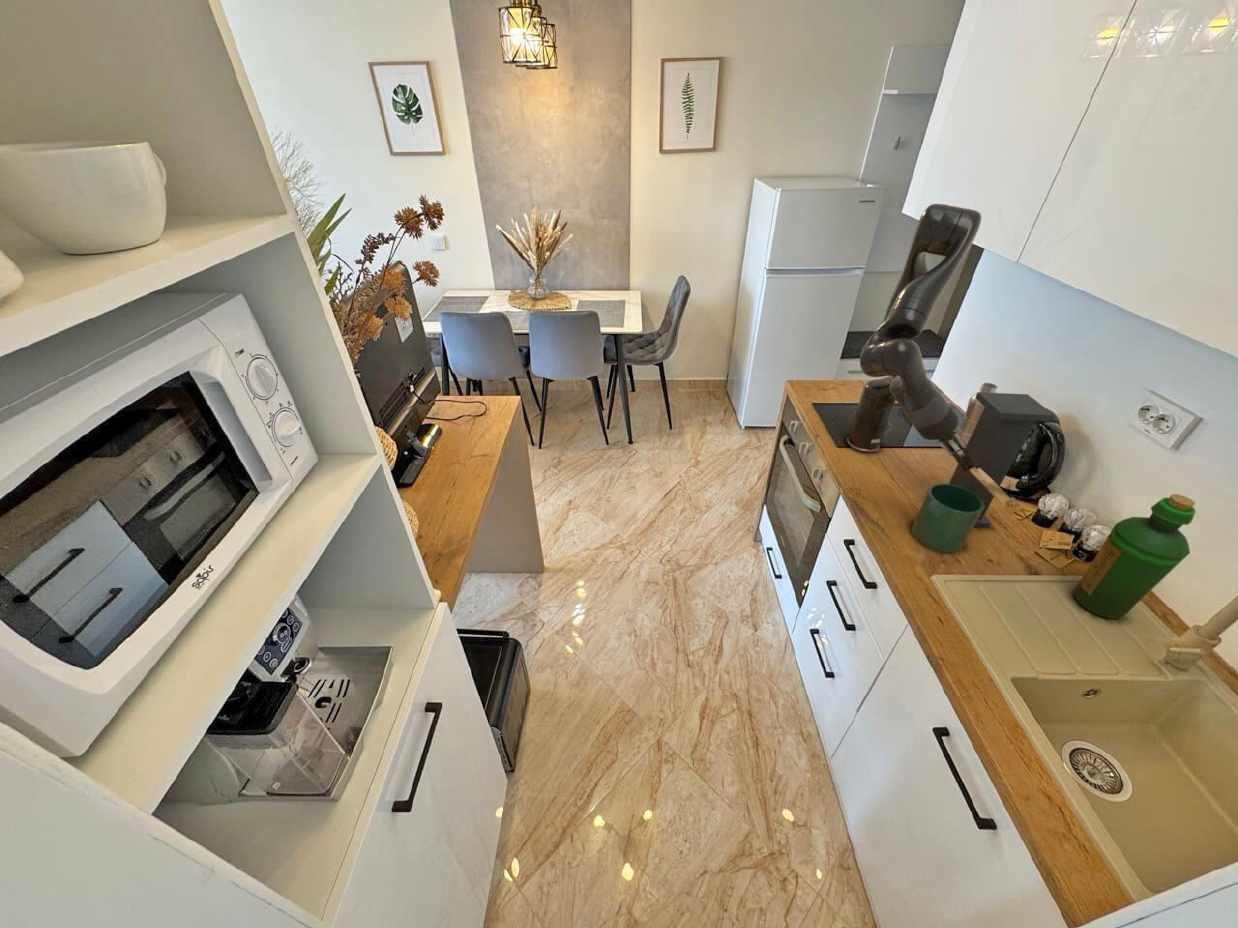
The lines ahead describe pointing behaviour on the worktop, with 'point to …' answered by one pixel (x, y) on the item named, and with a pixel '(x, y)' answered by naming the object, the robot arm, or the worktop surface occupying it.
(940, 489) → the crock
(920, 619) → the worktop surface
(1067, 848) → the worktop surface
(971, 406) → the plastic bottle
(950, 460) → the worktop surface
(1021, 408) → the stand
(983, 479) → the spatula
